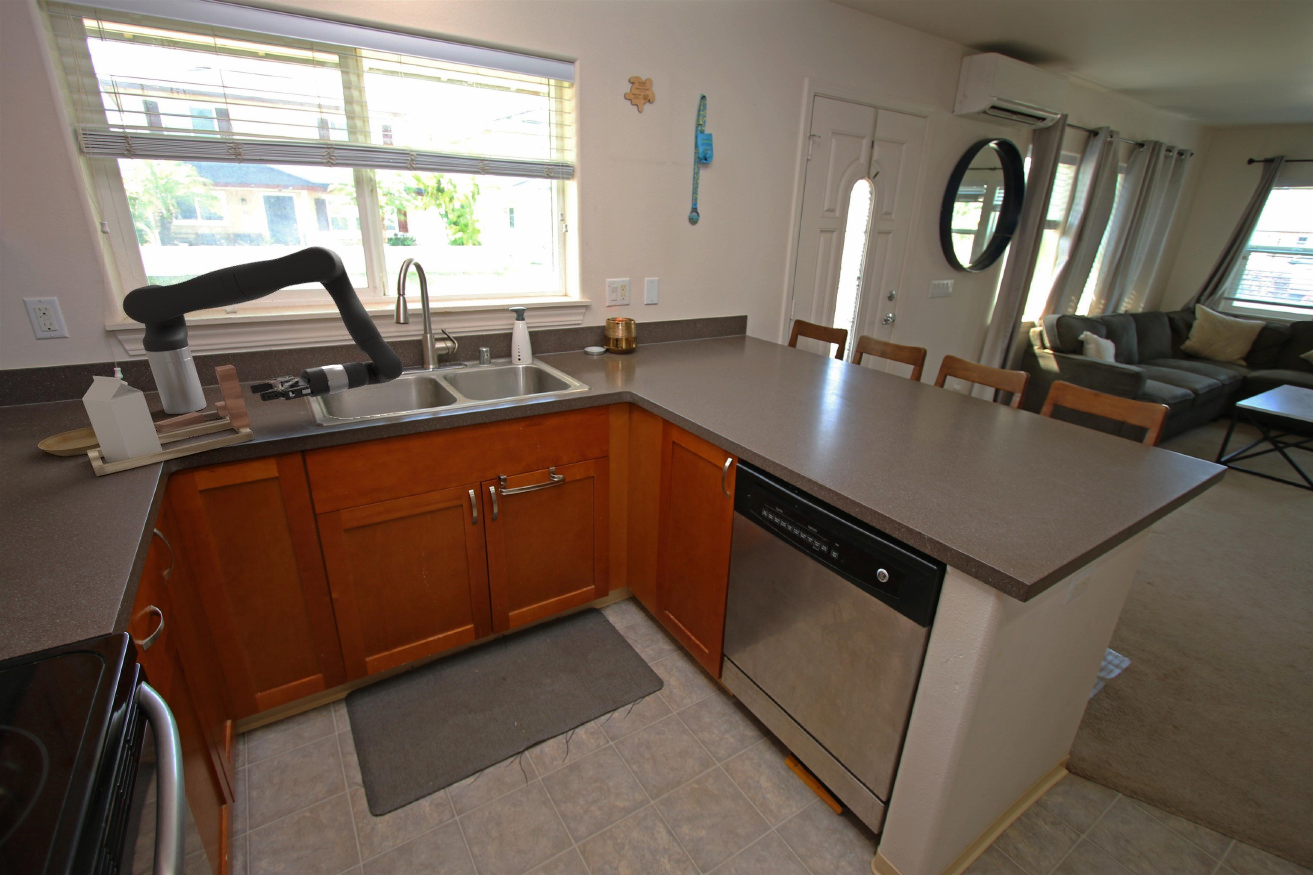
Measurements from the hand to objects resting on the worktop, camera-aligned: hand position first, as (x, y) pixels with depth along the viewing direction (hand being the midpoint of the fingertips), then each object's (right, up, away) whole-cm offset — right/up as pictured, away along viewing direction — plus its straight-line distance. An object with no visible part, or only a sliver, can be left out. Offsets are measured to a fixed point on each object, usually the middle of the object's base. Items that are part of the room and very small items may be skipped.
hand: (255, 393), depth 145 cm
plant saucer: (-35, -13, -8) cm, 38 cm away
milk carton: (-18, -16, -14) cm, 27 cm away
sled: (-12, -13, -9) cm, 20 cm away
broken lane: (-19, -9, +3) cm, 21 cm away
